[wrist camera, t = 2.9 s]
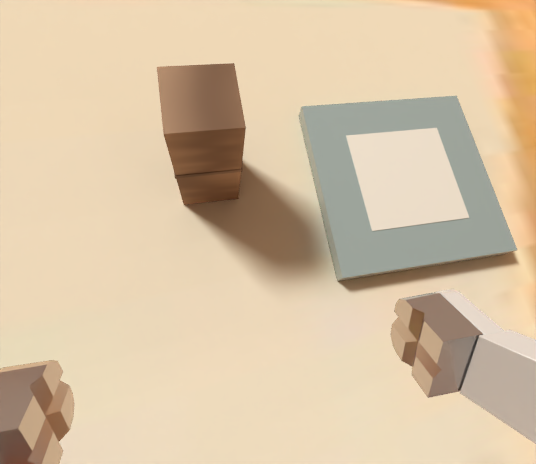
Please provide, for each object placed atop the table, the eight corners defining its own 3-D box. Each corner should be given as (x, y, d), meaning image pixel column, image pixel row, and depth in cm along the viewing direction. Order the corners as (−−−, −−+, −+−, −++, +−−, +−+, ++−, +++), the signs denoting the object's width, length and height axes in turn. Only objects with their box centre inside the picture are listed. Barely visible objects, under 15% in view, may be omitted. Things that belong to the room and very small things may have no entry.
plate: (337, 280, 25) (343, 277, 24) (298, 115, 29) (302, 106, 27) (505, 254, 27) (517, 249, 26) (448, 104, 31) (456, 95, 30)
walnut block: (183, 205, 25) (162, 134, 17) (177, 155, 26) (155, 66, 18) (239, 199, 26) (246, 128, 17) (231, 151, 27) (234, 62, 18)
